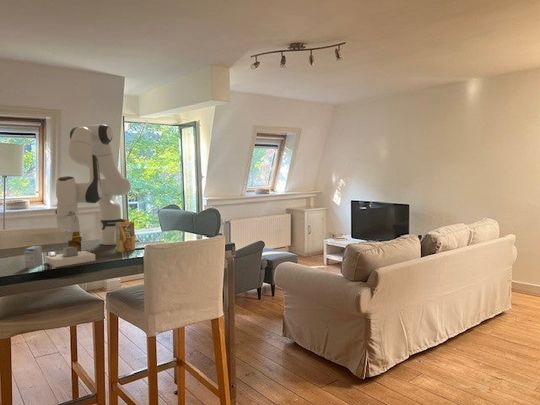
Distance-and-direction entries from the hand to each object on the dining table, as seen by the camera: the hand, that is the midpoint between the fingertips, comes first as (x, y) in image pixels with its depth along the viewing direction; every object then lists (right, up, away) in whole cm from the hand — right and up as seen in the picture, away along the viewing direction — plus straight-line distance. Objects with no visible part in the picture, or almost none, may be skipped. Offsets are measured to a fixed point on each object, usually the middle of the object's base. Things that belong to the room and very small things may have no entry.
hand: (69, 240), depth 202 cm
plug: (0, -10, +1) cm, 10 cm away
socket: (0, -10, +1) cm, 10 cm away
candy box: (+18, -8, +26) cm, 32 cm away
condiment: (-8, -9, +22) cm, 25 cm away
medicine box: (-13, -12, -7) cm, 19 cm away
